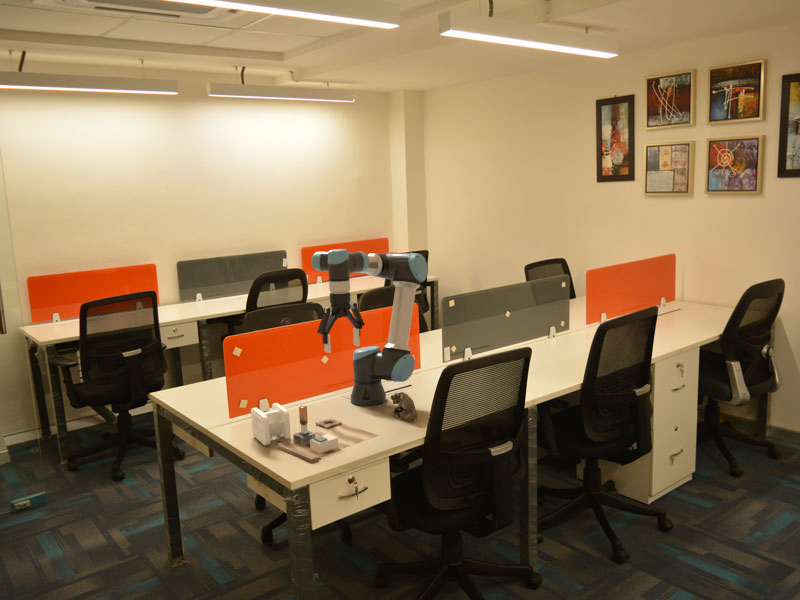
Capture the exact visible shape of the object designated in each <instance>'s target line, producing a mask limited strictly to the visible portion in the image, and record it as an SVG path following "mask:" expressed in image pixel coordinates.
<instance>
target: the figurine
mask: <svg viewBox="0 0 800 600" xmlns="http://www.w3.org/2000/svg"><path fill="white" fill-rule="evenodd" d="M390 400H392V404H393V405H397V406H396V407H395V408H394V410H393V411H392V412H391V416H392V417H396V418H399V419H401V420H404V421H406V422H416V420H418V413H417V410H416V405H415V402H414V400H413V398H412V397H411V396H409V395H408V393H405V392H403V391H402V392H401V391H400V392H396V393H393V394H391V395H390ZM400 413H401V414H400Z"/></svg>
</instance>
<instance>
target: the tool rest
mask: <svg viewBox="0 0 800 600" xmlns="http://www.w3.org/2000/svg"><path fill="white" fill-rule="evenodd" d="M341 424H343V422H342V421H339V420H336V419H333V418H331V417H330V418H327V419H324V420H320V421H317V422H316V423H315V427H321V428H323V429H329V428H332V427H335V426H338V425H341Z"/></svg>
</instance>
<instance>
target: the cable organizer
mask: <svg viewBox="0 0 800 600" xmlns="http://www.w3.org/2000/svg"><path fill="white" fill-rule="evenodd" d="M271 407H272V408H271V409H272V410H270V411H265V412H263V411H262V410H261V409H259V408H258V407H252V408H251V409H250V416H251V418H250V419H251V430H252V434H253V436H254V437H255V438H256V439H257V440H258V442H260V443H261V444H262V445H264V446H269V445H270V444H271V442H272V441H273V437H275V436H278V437H279V439H281V438H284V439H285V440H290V439H291V435H292V434H291V423H290V419H291V418H290V413H289V411H288V410H287V409H286V407H284V406H282V405H281V404H280V403H278V402H275V403H272V405H271Z"/></svg>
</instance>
